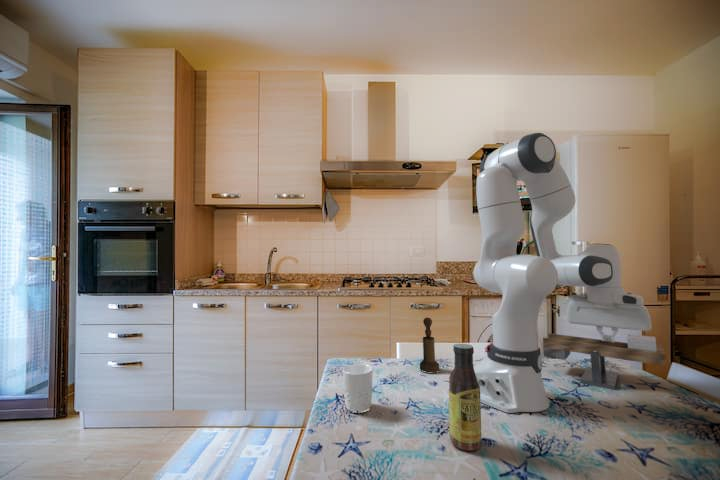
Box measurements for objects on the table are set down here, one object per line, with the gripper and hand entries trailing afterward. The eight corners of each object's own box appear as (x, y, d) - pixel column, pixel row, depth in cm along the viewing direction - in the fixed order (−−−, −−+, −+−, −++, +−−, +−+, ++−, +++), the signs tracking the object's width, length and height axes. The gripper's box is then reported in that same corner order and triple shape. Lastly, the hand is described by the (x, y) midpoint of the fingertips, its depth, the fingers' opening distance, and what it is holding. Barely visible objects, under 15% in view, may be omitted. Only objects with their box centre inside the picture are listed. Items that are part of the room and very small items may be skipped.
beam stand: (580, 382, 93) (578, 350, 94) (587, 370, 103) (585, 341, 104) (614, 389, 88) (611, 355, 88) (618, 375, 98) (615, 345, 99)
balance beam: (543, 356, 102) (542, 335, 102) (550, 350, 109) (549, 330, 110) (666, 377, 82) (664, 351, 83) (665, 368, 89) (663, 343, 90)
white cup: (377, 404, 83) (376, 365, 83) (366, 417, 75) (365, 375, 76) (351, 399, 86) (350, 362, 87) (337, 412, 79) (337, 371, 79)
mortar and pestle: (442, 369, 108) (439, 316, 109) (435, 375, 102) (433, 320, 104) (423, 366, 111) (422, 315, 113) (417, 371, 106) (415, 318, 107)
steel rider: (628, 353, 89) (627, 337, 89) (629, 349, 93) (628, 334, 94) (657, 357, 85) (655, 341, 85) (656, 352, 89) (655, 337, 90)
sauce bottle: (464, 456, 60) (459, 351, 61) (443, 439, 65) (439, 344, 67) (490, 447, 62) (484, 347, 64) (467, 432, 68) (463, 340, 69)
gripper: (563, 295, 100) (565, 338, 99) (649, 299, 86) (653, 350, 85) (567, 293, 105) (569, 334, 104) (649, 297, 91) (653, 345, 90)
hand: (608, 341), depth 94 cm, fingers closed
